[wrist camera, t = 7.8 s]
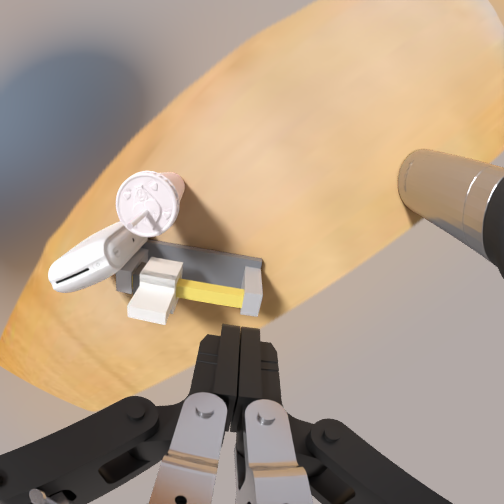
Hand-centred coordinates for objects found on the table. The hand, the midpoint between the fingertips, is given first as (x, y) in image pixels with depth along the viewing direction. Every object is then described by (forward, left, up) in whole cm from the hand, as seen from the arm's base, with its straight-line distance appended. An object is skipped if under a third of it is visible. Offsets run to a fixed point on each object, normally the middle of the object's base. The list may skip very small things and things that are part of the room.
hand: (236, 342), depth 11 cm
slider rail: (+5, +10, -26) cm, 28 cm away
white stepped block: (+8, +10, -21) cm, 25 cm away
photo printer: (+16, +8, -26) cm, 32 cm away
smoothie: (+9, 0, -26) cm, 28 cm away
